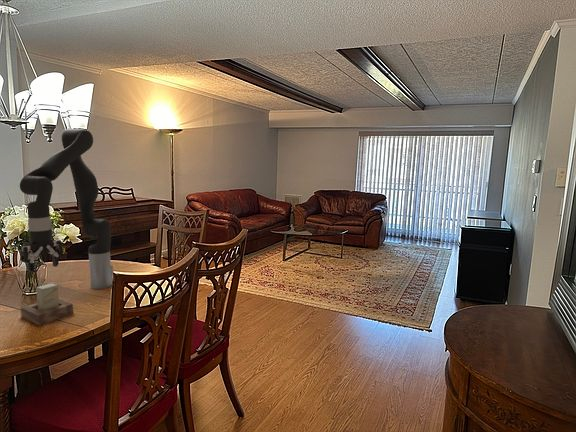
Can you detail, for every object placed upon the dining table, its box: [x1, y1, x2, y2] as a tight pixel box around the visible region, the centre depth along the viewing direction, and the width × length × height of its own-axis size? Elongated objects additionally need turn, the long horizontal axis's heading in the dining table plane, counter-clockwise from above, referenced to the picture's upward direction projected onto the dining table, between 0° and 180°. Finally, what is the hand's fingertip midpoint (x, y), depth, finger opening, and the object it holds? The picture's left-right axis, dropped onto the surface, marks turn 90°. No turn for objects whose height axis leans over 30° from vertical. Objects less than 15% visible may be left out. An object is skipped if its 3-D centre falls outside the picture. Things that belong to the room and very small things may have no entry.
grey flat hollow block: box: [20, 298, 74, 326], centre depth 152 cm, size 13×13×4 cm
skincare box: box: [35, 282, 60, 311], centre depth 152 cm, size 6×4×12 cm
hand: (44, 269), depth 150 cm, fingers open, 8 cm apart
